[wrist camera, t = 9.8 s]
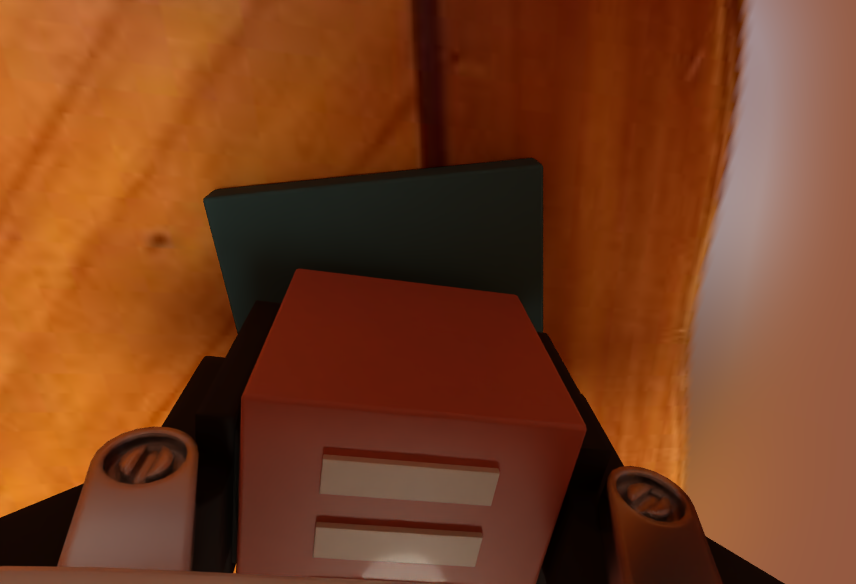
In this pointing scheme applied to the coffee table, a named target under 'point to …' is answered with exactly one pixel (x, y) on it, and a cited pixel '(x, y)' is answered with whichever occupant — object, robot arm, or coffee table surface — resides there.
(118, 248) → the coffee table surface
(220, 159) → the coffee table surface
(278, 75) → the coffee table surface
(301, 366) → the red striped block
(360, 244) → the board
